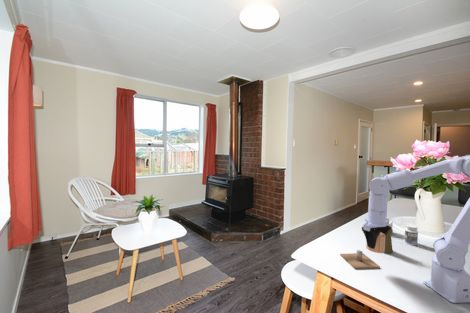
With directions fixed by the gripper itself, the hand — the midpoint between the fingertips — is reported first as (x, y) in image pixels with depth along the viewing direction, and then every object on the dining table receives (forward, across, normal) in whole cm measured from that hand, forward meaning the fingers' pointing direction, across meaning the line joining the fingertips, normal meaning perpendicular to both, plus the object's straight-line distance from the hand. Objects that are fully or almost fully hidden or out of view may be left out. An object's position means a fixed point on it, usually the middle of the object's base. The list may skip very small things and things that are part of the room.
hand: (375, 245), depth 80 cm
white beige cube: (+9, -41, -15) cm, 45 cm away
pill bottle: (+9, -38, -2) cm, 39 cm away
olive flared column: (+9, -19, -5) cm, 22 cm away
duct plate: (+9, 0, -6) cm, 11 cm away
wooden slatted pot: (+1, 0, 0) cm, 1 cm away
